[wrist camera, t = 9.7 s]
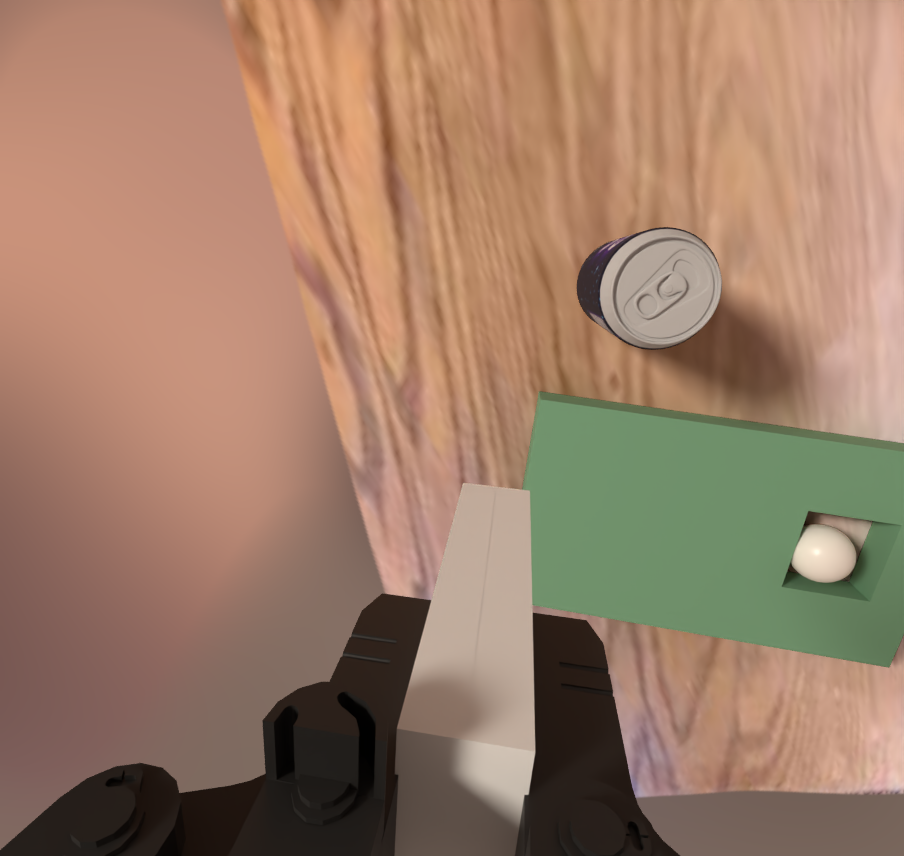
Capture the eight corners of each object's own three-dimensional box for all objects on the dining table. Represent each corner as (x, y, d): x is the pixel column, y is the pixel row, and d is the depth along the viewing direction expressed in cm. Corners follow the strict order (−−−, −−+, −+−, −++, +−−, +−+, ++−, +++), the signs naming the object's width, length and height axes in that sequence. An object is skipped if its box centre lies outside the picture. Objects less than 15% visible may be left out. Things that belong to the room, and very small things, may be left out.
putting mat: (539, 391, 38) (540, 399, 36) (950, 450, 36) (980, 462, 34) (506, 582, 43) (505, 600, 41) (867, 644, 41) (889, 667, 38)
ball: (792, 526, 36) (864, 550, 34) (799, 508, 39) (865, 528, 37) (775, 576, 37) (843, 602, 35) (783, 555, 40) (846, 577, 38)
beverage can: (679, 290, 35) (757, 300, 24) (607, 344, 37) (648, 377, 25) (629, 220, 34) (685, 196, 23) (558, 278, 36) (577, 282, 25)
